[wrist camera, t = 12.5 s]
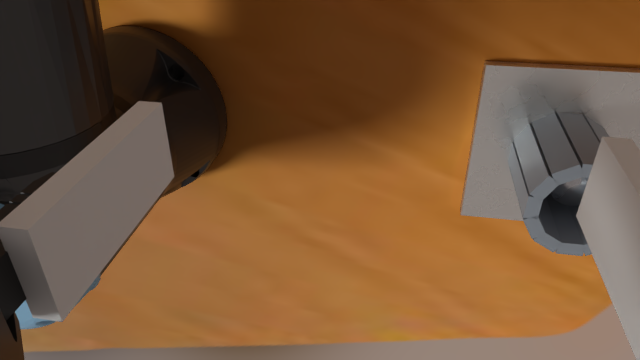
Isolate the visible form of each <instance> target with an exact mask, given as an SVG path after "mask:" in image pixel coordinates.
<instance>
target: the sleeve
mask: <svg viewBox="0 0 640 360" xmlns="http://www.w3.org/2000/svg"><path fill="white" fill-rule="evenodd" d="M531 123H532V125H533V126H532V125H531V124H528V125H527V126H526V127H525V128H524V129H523V130H522V131H521V133H520V134H519V135H518V136H517V137H516V138H515V139H514V140H513V141H514V142H512V146H511V150H510V155H509V159H508V164H509V168H510V172H511V176H512V179H513V183H514V187H515V191H516V195H517V198H518V202H519V206H520V210H521V214H522V217H523V221H524V223H525V225H526V227H527V229H528V232H529V234H530V236H531V238H533V240H534V241H535V242H537V243H539V244H540V245H542V246H544V247H545V248H547V249H548V250H550V251H552V252H554V251H555V252H556V253H558V254H568V255H578V256H583V253H585V256H586V255H590V254H592V253H591V250H590V248H589V246H588V243H587V241H586V238H585V236H584V234H583V231H582V229H581V226H580V224H579V222H578V219H577V217H576V215H577V212H578V209H579V206H580V205H579V206H568V205H564V204H561V203H559V202H558V201H556V200H555V199H554V198H553V196H552V194H551V192H552V191H553V190H554V189H555V188H556V187H557V186H558V185H560V184H563V183H566V182H569V181H572V180H575V179H578V178H581V177H585V178H589V175H590V172H591V169H592V166H593V163H594V160H595V157H596V154H597V151H598V148H599V145H600V142H601V139H602V137H609V135H608V134H607V132H606V131H605V129H604V128H603V127H602V126H601V125H599V124H598V123H596V122H595V121H593V120H592V119H590V118H589V117H587V116H586V115H584V116H583V115H582V114H574V113H558V112H557V116H556V115H555V113H553V114H551V115H548V116H545V117H543V118H540V119H538V120H535V121H533V122H531Z"/></svg>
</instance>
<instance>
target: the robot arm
mask: <svg viewBox="0 0 640 360" xmlns="http://www.w3.org/2000/svg"><path fill="white" fill-rule="evenodd" d="M226 128H227V117H226V109H225V105H224V101H223V98H222V95H221V92H220V90H219V88H218V85H217V83H216V82H215V80H214V78H213V77H212V75H211V73H210V72H209V71H208V69H207V68H206V67H205V65H204V64H203V63H202V62H201V61H200V60H199V59H198V58H197V57H196V56H195V55H194V54H193V53H192V52H191V51H190V50H189V49H187V48H186V47H185V46H183V45H182V44H181V43H179V42H177V41H176V40H174V39H172V38H171V37H169V36H167V35H165V34H162V33H160V32H157V31H154V30H151V29H147V28H143V27H137V26H118V27H112V28H108V29H105V30H103V28H102V22H101V16H100V9H99V2H98V0H0V360H24V353H23V346H22V338H21V331H20V329H32V328H39V327H43V326H46V325H49V324H52V323H54V322H55V321H59V322H63V320H64V319H65V318H66V316H67V315H68V314H69V313H70V311H71V310H72V309H73V308H74V307H75V306H76V305H77V304H78V302H79V301H80V300H81V299H82V298H83V297H84V296H85V295H86V294H87V293H88V292H89V291H90V290H92V289H94V288H95V287H96V286H97V285H98V283H99V280H100V279H101V278H100V276H101V275H102V274H103V272H104V271H105V270H106V268H107V267H108V266H109V264H110V263H111V262H112V260H113V259H114V258H115V257H116V255H117V254H118V253H119V251H120V250H121V249H122V247H123V246H124V245H125V243H126V242H127V241H128V240H129V238H130V237H131V236H132V234H133V233H134V232H135V230H136V229H137V228H138V226H139V225H140V224H141V223H142V221H143V220H144V219H145V217H146V216H147V215H148V213H149V212H150V211H151V210H152V208H153V207H154V205H155V204H156V203H157V201H158V200H159V199H160V198H162V197H164V196H166V195H168V194H170V193H172V192H174V191H176V190H178V189H179V188H181V187H183V186H186V185H187V184H189V183H191V182H193V181H194V180H196V179H197V178H198V177H200V176H201V175H202V174H203V173H204V172H205V171H206V170H207V169H208V168H209V166H210V165H211V163H212V162H213V161H214V159H215V158H216V156H217V155H218V153H219V152H220V150H221V148H222V145H223V143H224V139H225V135H226ZM576 217H577V219H578V222H579V224H580V226H581V229H582V231H583V234H584V236H585V238H586V241H587V243H588V246H589V248H590V250H591V253H592V255H593V257H594V260H595V262H596V265H597V267H598V269H599V272H600V274H601V277H602V279H603V281H604V284H605V286H606V289H607V291H608V293H609V296H610V298H611V300H612V303H613V305H614V308H615V310H616V312H617V315H618V317H619V319H620V322H621V324H622V327H623V329H624V331H625V334H626V336H627V339H628V341H629V343H630V346H631V348H632V351H633V353H634V355H635V358H636V360H640V150H639V148H638V147H637V146H636V144H635V143H634V141H633V140H632V139H629V138H615V137H602V139H601V142H600V145H599V148H598V151H597V154H596V157H595V160H594V163H593V166H592V169H591V172H590V175H589V178H588V181H587V184H586V187H585V190H584V193H583V196H582V200H581V203H580V206H579V209H578V212H577V215H576Z"/></svg>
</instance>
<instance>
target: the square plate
mask: <svg viewBox="0 0 640 360" xmlns="http://www.w3.org/2000/svg"><path fill="white" fill-rule="evenodd" d="M557 112H558V113H574V114H582V115H583V116H584V115H586V116H587V117H589V118H590V119H592V120H593V121H595V122H596V123H598V124H599V125H601V126H602V127H603V128H604V129H605V131H606V132H607V134H608V135H609V137H615V138H629V139H632V140H633V141H634V143H635V144H636V146H637V147H638V148H639V150H640V68H623V67H603V66H582V65H562V64H542V63H521V62H501V61H485V63H484V69H483V75H482V81H481V87H480V93H479V99H478V105H477V111H476V117H475V123H474V129H473V135H472V141H471V147H470V153H469V159H468V165H467V171H466V177H465V183H464V189H463V195H462V201H461V207H460V212H461V215H466V216H477V217H487V218H498V219H509V220H520V221H523V217H522V214H521V210H520V206H519V202H518V198H517V195H516V191H515V187H514V183H513V179H512V176H511V172H510V168H509V164H508V159H509V155H510V150H511V146H512V142H514V141H513V140H514V139H515V138H516V137H517V136H518V135H519V134H520V133H521V131H522V130H523V129H524V128H525V127H526V126H527V125H528V124H531V125H532V123H531V122H533V121H535V120H538V119H540V118H543V117H545V116H548V115H551V114H553V113H555V115H556V116H557ZM532 126H533V125H532ZM587 181H588V178H585V177H581V178H578V179H575V180H572V181H569V182H566V183H563V184H560V185H558V186H557V187H556V188H555V189H554V190H553V191H552V192H551V194H552V196H553V198H554V199H555V200H556V201H558V202H559V203H561V204H564V205H568V206H579V205H580V203H581V200H582V196H583V193H584V190H585V187H586V184H587Z"/></svg>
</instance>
